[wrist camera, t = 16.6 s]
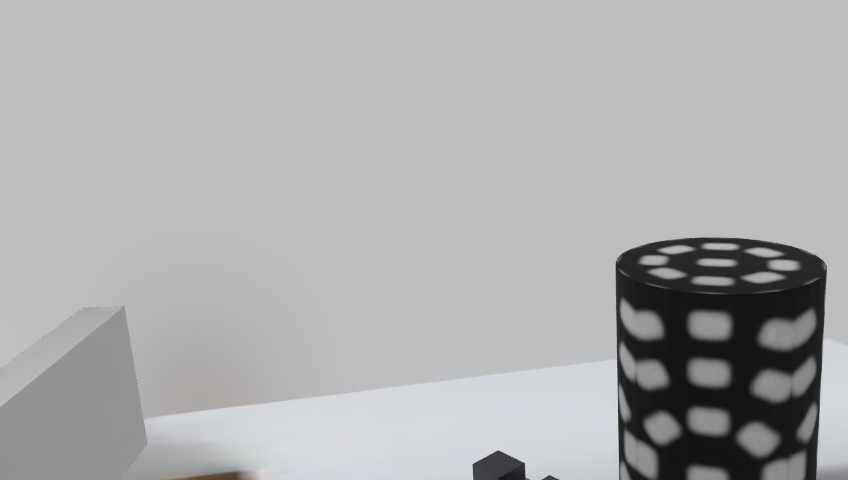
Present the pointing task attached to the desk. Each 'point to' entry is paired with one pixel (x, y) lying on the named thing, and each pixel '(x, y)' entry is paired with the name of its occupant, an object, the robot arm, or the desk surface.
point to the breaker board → (500, 468)
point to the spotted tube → (719, 360)
